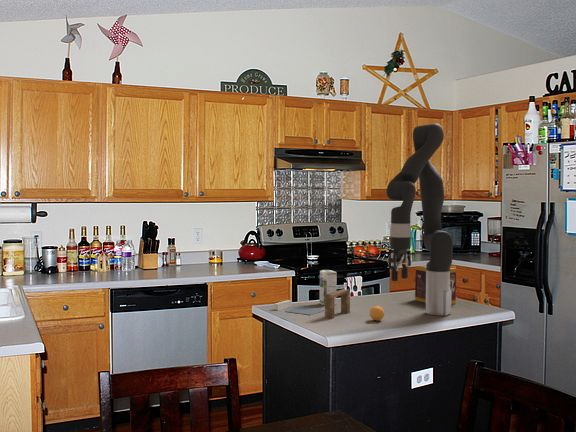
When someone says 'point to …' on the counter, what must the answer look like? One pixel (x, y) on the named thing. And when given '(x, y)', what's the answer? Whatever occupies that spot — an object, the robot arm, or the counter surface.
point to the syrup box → (327, 284)
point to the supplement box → (421, 284)
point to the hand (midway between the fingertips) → (399, 279)
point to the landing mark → (305, 310)
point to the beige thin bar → (283, 305)
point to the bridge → (330, 302)
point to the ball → (376, 313)
